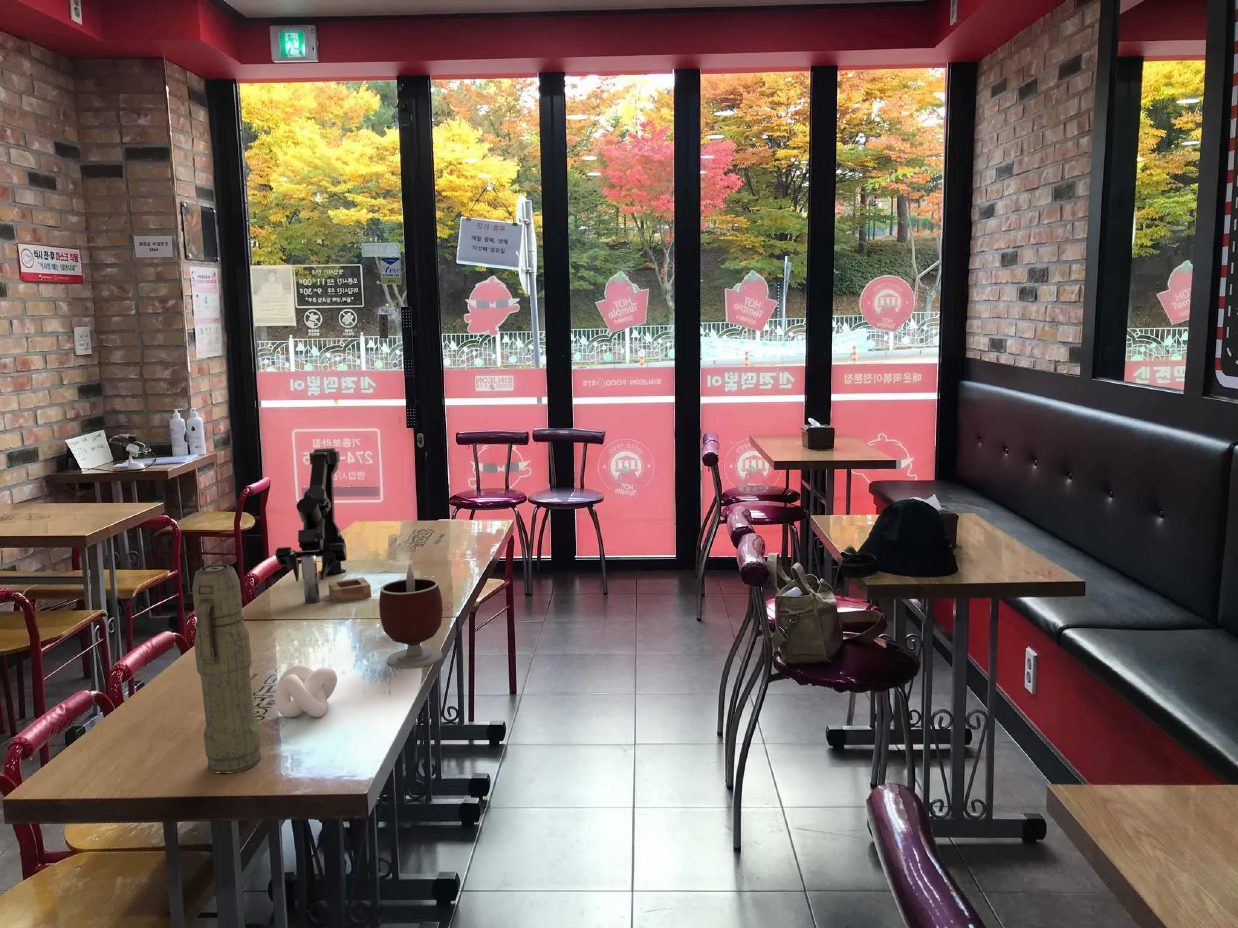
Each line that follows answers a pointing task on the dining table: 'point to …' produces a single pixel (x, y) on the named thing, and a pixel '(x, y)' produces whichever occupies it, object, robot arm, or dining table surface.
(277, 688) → the white knot
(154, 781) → the dining table surface
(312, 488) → the robot arm
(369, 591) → the socket block
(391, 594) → the mate gourd
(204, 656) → the thermos
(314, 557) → the pin
